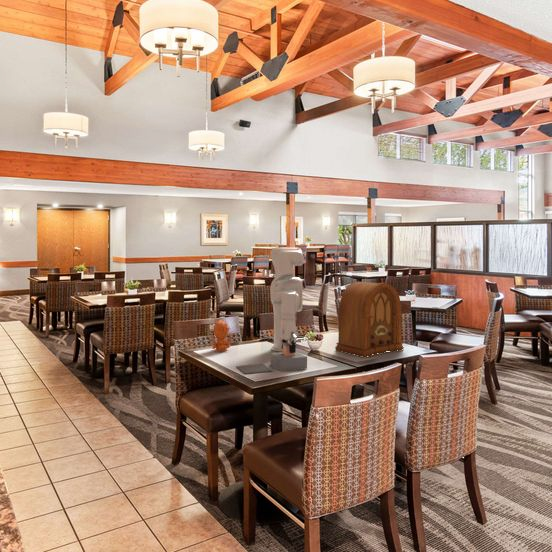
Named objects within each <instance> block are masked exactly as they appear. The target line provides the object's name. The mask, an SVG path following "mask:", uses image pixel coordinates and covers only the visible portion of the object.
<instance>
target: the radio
mask: <svg viewBox="0 0 552 552" xmlns="http://www.w3.org/2000/svg"><path fill="white" fill-rule="evenodd" d="M402 315H403V312H402V303H401V298H400V295H399V292H398V290H397V289H396V288H395V287H394V286H393V285H391V284H390V283H387V282H367V281H366V282H365V281H355V282H351V284H349V285H348V286H347V287H346V288H345V290H344V291H343V292H342V295H341V297H340V302H339V305H338V337H337V338H338V342H336V343H335V344H336V346H335V347H334V349H335V351H336V350H339V351H338V352H340V351H343V352H342V353H344V352H347V353H346V354H348V353H350V354H349V355H352V354H355V355H354V356H356V355H358V356H357V357H360V356H363V357H362V358H364V357H366V358H368V357H367V356H371V355H372V354H376V355H378V354H377V353H384V352H386V351H397V350H402V349H403V350H404V348H405V347H404V346H403V344H404V343H403V342H402V325H403V324H402V323H403V321H402V320H403V319H402V318H403V317H402ZM403 350H402V351H403ZM397 352H398V351H397ZM386 353H387V352H386ZM384 354H385V353H384ZM372 356H373V355H372ZM372 356H371V357H372Z"/></svg>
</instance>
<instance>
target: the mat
mask: <svg viewBox="0 0 552 552" xmlns="http://www.w3.org/2000/svg"><path fill="white" fill-rule="evenodd" d="M236 367H237V368H236V369H237V370H239V371H240V372H241V373H242V372H243V375H251V374H252V375H253V374H261V373H263V374H265V373H271V372H273V369H271V368H270V367H268V366H266V365H265V364H264V363H256V364H247V365H245V364H244V365H236Z"/></svg>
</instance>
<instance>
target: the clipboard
mask: <svg viewBox="0 0 552 552" xmlns="http://www.w3.org/2000/svg"><path fill="white" fill-rule="evenodd" d="M296 337H297V338H304V337H305V336H301V335H298V334H296ZM263 338H264V339H268V340H271V339H272V341H274V336H271V337H268V336H264V337H263ZM301 340H304V339H298V340H296V343H302V342H301ZM291 342H292V341H291Z"/></svg>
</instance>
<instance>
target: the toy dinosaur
mask: <svg viewBox="0 0 552 552" xmlns="http://www.w3.org/2000/svg"><path fill="white" fill-rule="evenodd" d="M218 320H219V321H215V322H214V325H213V335H212V337H211V338H212V339H211V342H212V350H214V351H216V350H217V351H216V352H218V351H224V352H227V350H228V349H230V347H231V344H230V342H231V339H232V334H229V332H230V329H231V328H230V325H228V322H227V321H223V320H222V319H218ZM228 336H229V337H228ZM215 337H216V338H217V340H215ZM227 337H228V338H227ZM226 338H227V340H226Z"/></svg>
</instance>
